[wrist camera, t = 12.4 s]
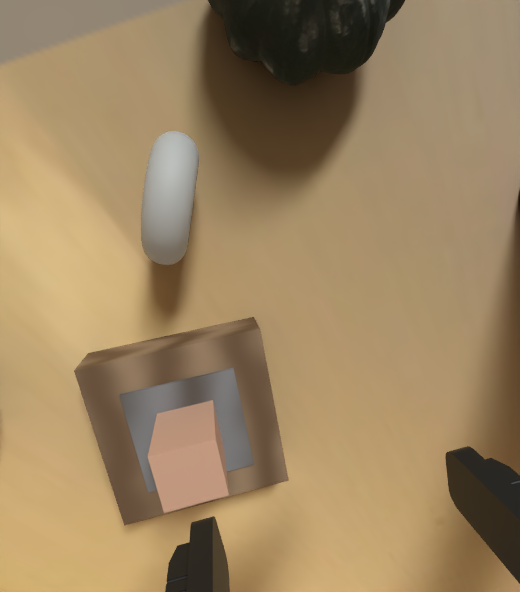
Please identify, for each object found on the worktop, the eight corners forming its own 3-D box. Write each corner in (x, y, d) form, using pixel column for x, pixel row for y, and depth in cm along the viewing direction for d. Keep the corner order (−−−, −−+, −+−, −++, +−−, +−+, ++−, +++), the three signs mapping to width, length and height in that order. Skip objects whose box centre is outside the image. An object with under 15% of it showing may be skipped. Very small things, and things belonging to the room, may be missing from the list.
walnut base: (253, 317, 36) (260, 330, 32) (280, 454, 40) (289, 482, 36) (88, 353, 35) (72, 372, 30) (132, 494, 38) (123, 527, 34)
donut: (187, 260, 34) (182, 278, 25) (149, 255, 34) (128, 271, 24) (202, 149, 32) (203, 121, 23) (162, 140, 32) (146, 108, 22)
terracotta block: (213, 400, 33) (215, 439, 27) (224, 448, 34) (229, 495, 28) (157, 413, 32) (147, 456, 27) (170, 461, 34) (164, 513, 28)
